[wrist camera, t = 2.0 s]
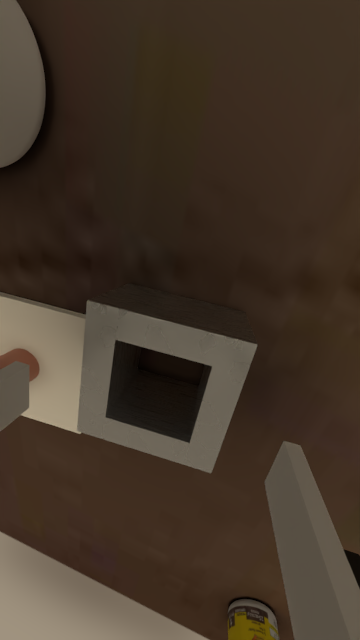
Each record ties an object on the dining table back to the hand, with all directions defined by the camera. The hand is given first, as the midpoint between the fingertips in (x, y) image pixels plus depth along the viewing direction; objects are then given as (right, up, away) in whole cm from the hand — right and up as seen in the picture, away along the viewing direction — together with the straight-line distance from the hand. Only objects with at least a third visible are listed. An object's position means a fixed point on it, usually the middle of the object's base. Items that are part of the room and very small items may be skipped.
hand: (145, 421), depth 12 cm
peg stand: (-12, +1, +10) cm, 16 cm away
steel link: (+1, +3, +7) cm, 8 cm away
